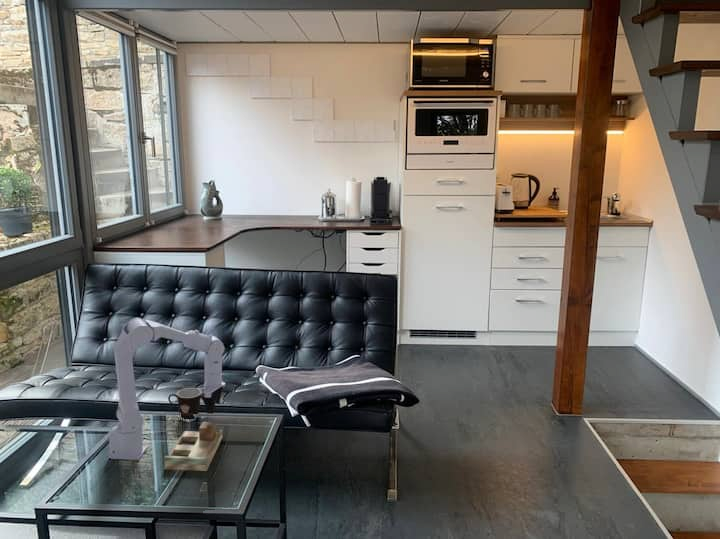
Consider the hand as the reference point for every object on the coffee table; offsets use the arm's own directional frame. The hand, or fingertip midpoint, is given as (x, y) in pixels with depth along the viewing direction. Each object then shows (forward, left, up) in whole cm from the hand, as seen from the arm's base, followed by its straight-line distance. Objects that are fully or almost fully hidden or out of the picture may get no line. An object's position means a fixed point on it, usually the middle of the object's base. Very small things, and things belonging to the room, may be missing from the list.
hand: (213, 407), depth 188 cm
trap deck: (-3, -13, -9) cm, 17 cm away
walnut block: (0, -7, -7) cm, 10 cm away
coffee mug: (-13, +11, -10) cm, 19 cm away
